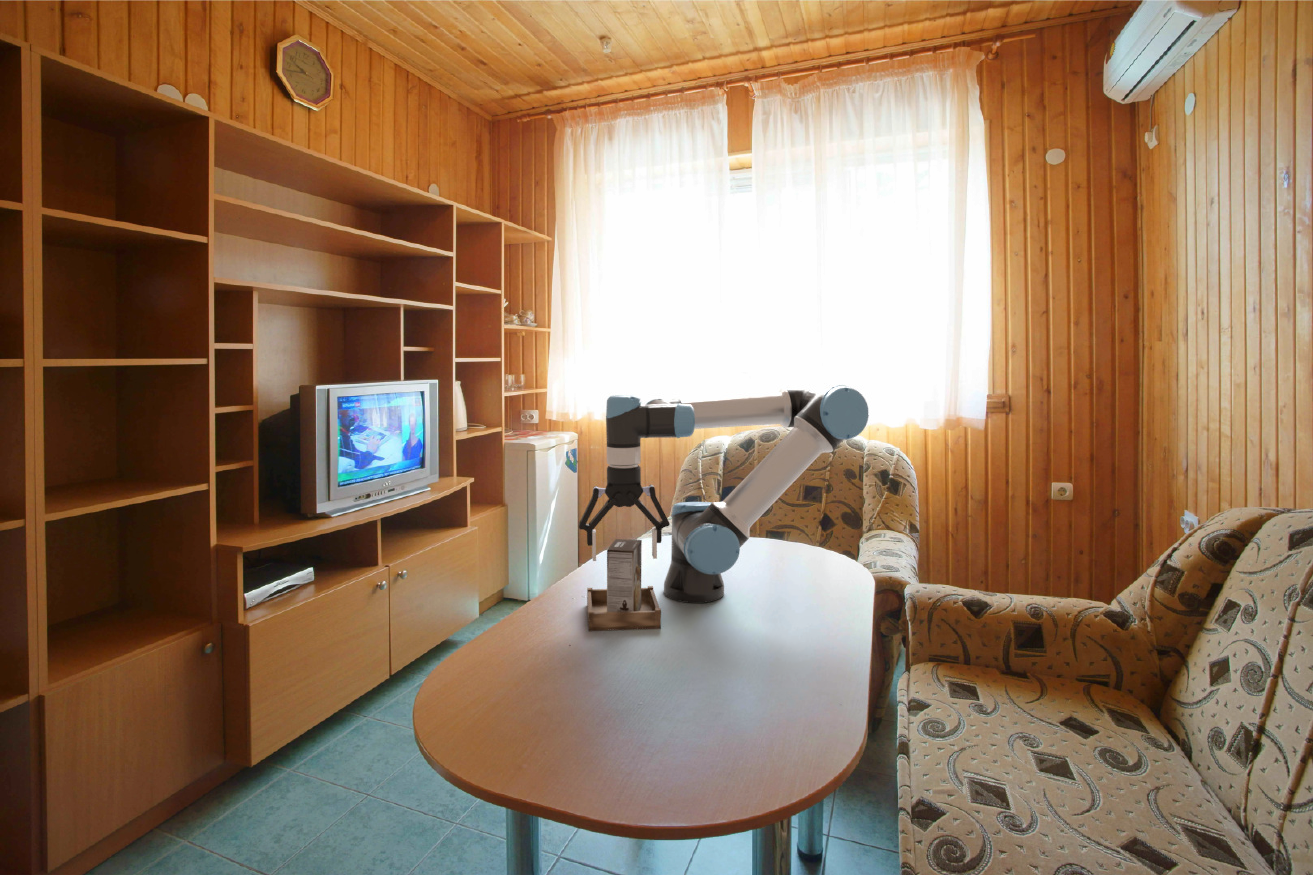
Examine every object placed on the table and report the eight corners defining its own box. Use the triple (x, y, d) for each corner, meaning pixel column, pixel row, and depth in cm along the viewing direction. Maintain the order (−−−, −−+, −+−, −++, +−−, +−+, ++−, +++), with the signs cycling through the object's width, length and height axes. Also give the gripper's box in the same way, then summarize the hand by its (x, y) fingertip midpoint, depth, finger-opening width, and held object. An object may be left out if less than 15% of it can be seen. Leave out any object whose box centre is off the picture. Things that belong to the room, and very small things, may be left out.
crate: (652, 602, 163) (652, 585, 163) (660, 628, 148) (660, 609, 147) (587, 604, 161) (587, 587, 161) (588, 631, 146) (588, 612, 145)
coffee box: (614, 604, 160) (615, 538, 158) (641, 606, 159) (642, 539, 157) (606, 619, 151) (606, 548, 149) (634, 621, 150) (635, 550, 148)
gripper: (676, 461, 156) (676, 551, 158) (567, 463, 153) (568, 555, 155) (682, 466, 148) (681, 560, 151) (566, 469, 145) (568, 565, 148)
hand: (624, 558), depth 153 cm, fingers open, 13 cm apart
